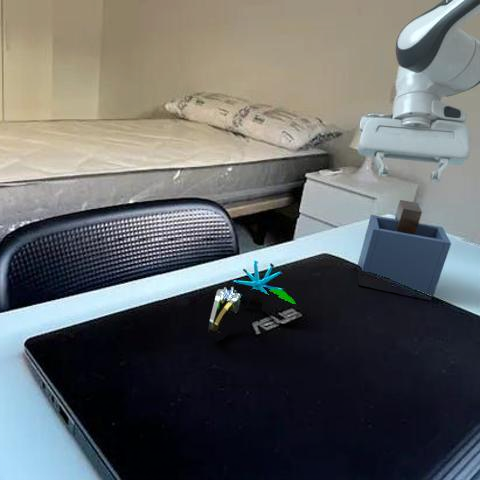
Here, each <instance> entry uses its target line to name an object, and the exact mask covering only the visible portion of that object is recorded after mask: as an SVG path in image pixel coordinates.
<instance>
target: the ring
mask: <svg viewBox="0 0 480 480" xmlns="http://www.w3.org/2000/svg"><path fill="white" fill-rule="evenodd" d="M241 296H242V294H241V293H238V291H237V290H236V289H234V286H231V287H230V289H227V287H226V286H225V287H223V288H222V289H221V288H219V289H217V291H216V294H215V298H214V302H213V306H212V310H211V313H210V318H209V323H208V330H209V329H210V330H212V331H217V330H218V331H219V327H220V325H221V323H222V321H223V319H224V317H225V316H226V314H227V312H228V310H229V309H230V310H229V312H230V311H232V312H233V311H234V312H235V313H237V312H239V313H240V308H241V300H240V298H241ZM225 302H226V304H225V305H224V306H223V308H222V309H221V311H220V312H219V309H220V305H221V304H224V303H225ZM218 312H219V314H218ZM218 331H217V332H218Z"/></svg>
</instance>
